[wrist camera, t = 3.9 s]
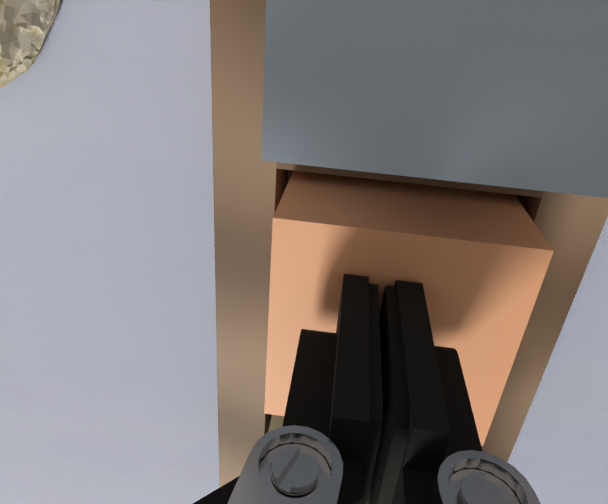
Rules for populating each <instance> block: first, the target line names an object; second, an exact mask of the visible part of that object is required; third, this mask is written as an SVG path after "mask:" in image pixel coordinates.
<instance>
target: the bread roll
mask: <svg viewBox="0 0 608 504" xmlns="http://www.w3.org/2000/svg"><path fill="white" fill-rule="evenodd" d="M59 5H60V0H0V88H1V87H3V86H4V85H6V84H7V83H9V82H10V81H12V80H14V79H15V78H16V77H17V76H18V75H20V74H22V73H24V72H26V71H27V70H29V68H30V67H31V66H32V65H33V64H34V63H35V61H36V58H37V56H38V54H39V52H40V50H41V47H42V45H43V42H44V39H45V37H46V34H47V32H48V31H49V29H50V27H51V25H52V23H53V21H54V19H55V17H56V14H57V11H58V8H59Z"/></svg>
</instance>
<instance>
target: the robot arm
mask: <svg viewBox="0 0 608 504" xmlns="http://www.w3.org/2000/svg"><path fill="white" fill-rule="evenodd" d="M366 503H367V504H540V502H539V500H538V498H537V495H536V493H535V492H534V490H533V488H532V487H531V485H530V484H529V482H528V481H527V479H526V478H525V477H524V476H523V475H522V474H521V473H520V472H519V471H518V470H517V469H516V468H515V467H514V466H512V465H510V464H509V463H507V462H506V461H504V460H503V459H501V458H499V457H497V456H494V455H492V454H489V453H486V452H483V451H482V447H481V443H480V439H479V435H478V431H477V427H476V423H475V419H474V415H473V411H472V407H471V403H470V399H469V395H468V391H467V387H466V383H465V379H464V375H463V371H462V367H461V363H460V359H459V355H458V353H457V350H456V349H455V348H448V347H440V346H434V340H433V335H432V330H431V325H430V319H429V314H428V309H427V304H426V298H425V293H424V288H423V284H422V283H418V282H410V281H401V280H396V281H395V285H394V286H387V285H386V286H385V288H384V293H383V298H382V304H381V310H380V315H379V294H378V284H370V283H369V277H368V276H359V275H351V274H344V275H343V282H342V290H341V298H340V305H339V313H338V321H337V329H336V333H330V332H323V331H315V330H307V329H301V333H300V337H299V343H298V348H297V353H296V358H295V363H294V369H293V374H292V379H291V384H290V389H289V395H288V400H287V405H286V410H285V415H284V420H283V426H282V427H279V428H276V429H274V430H271V431H269V432H267V433H266V434H265V435H263V436H262V437H261V438H260V439H258V440H257V442H256V443H255V445H254V446H253V448H252V449H251V451H250V453H249V456H248V458H247V460H246V462H245V465H244V467H243V469H242V471H241V474H240V476H238V477H237V478H235V479H233V480H232V481H230V482H228V483H227V484H225V485H223V486H222V487H220V488H218V489H217V490H215V491H213V492H212V493H210V494H208V495H207V496H205V497H203V498H202V499H200V500H198V501H197V502H195V503H193V504H366Z"/></svg>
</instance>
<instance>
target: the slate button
mask: <svg viewBox="0 0 608 504" xmlns="http://www.w3.org/2000/svg"><path fill="white" fill-rule="evenodd" d="M261 160H262V161H271V162H280V163H289V164H299V165H308V166H317V167H326V168H335V169H345V170H354V171H363V172H372V173H381V174H391V175H400V176H409V177H418V178H428V179H437V180H446V181H455V182H464V183H474V184H483V185H492V186H501V187H510V188H520V189H529V190H538V191H547V192H556V193H566V194H575V195H584V196H593V197H603V198H608V0H266V20H265V53H264V87H263V121H262V155H261Z"/></svg>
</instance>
